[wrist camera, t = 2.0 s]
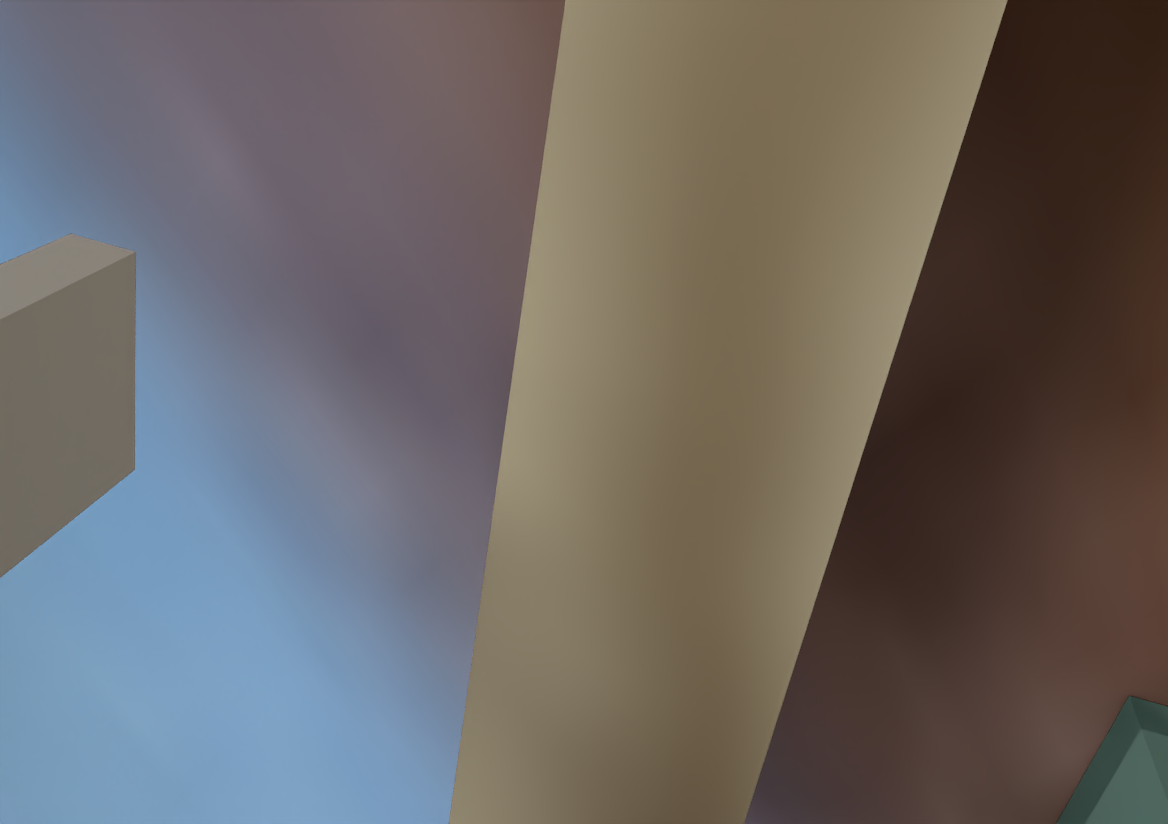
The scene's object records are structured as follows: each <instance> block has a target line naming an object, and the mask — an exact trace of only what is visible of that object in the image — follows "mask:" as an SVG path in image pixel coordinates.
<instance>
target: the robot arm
mask: <svg viewBox="0 0 1168 824" xmlns="http://www.w3.org/2000/svg"><path fill="white" fill-rule="evenodd" d="M135 304H136V252H134V251H131V250H127V249H124V248H120V247H116V246H113V245H109V244H106V243H102V242H98V241H95V240H91V239H88V238H84V237H80V236H77V235H73V234H69V235H67V236H64V237H62V238H60V239H58V240H55V241H53V242H51V243H48V244H46V245H44V246H41V247H39V248H37V249H35V250H32V251H30V252H28V253H25V254H23V255H21V256H18V257H16V258H14V259H12V260H9V261H7V262H5V263H2V264H0V578H1V577H2V576H3V575H4V574H6V573H7V572H8V571H9V570H11V569H12V568H13V567H14V566H16V565H17V564H18V563H19V562H21V561H22V560H23V559H24V558H25V557H27V556H28V555H29V554H30V553H32V552H33V551H34V550H35V549H37V548H38V547H39V546H40V545H42V544H43V543H44V542H45V541H47V540H48V539H49V538H50V537H52V536H53V535H54V534H55V533H57V532H58V531H59V530H60V529H62V528H63V527H64V526H65V525H67V524H68V523H69V522H70V521H72V520H73V519H74V518H75V517H77V516H78V515H79V514H80V513H82V512H83V511H84V510H85V509H86V508H88V507H89V506H90V505H91V504H93V503H94V502H95V501H96V500H98V499H99V498H100V497H101V496H103V495H104V494H105V493H106V492H108V491H109V490H110V489H111V488H113V487H114V486H115V485H116V484H118V483H119V482H120V481H121V480H123V479H124V478H125V477H126V476H128V475H129V474H130V473H131V472H133V471H134V470H135Z"/></svg>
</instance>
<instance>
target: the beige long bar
mask: <svg viewBox="0 0 1168 824" xmlns="http://www.w3.org/2000/svg"><path fill="white" fill-rule="evenodd" d="M1006 3H1007V0H566V2H565V9H564V16H563V23H562V30H561V37H560V44H559V51H558V58H557V65H556V72H555V79H554V86H553V93H552V100H551V107H550V114H549V121H548V128H547V135H546V142H545V150H544V157H543V164H542V171H541V178H540V185H539V192H538V199H537V206H536V213H535V220H534V227H533V234H532V241H531V248H530V255H529V262H528V269H527V276H526V283H525V290H524V297H523V305H522V312H521V319H520V326H519V333H518V340H517V347H516V354H515V361H514V368H513V375H512V382H511V389H510V396H509V403H508V410H507V417H506V424H505V431H504V438H503V445H502V452H501V460H500V467H499V474H498V481H497V488H496V495H495V502H494V509H493V516H492V523H491V530H490V537H489V544H488V551H487V558H486V565H485V572H484V579H483V586H482V593H481V600H480V607H479V615H478V622H477V629H476V636H475V643H474V650H473V657H472V664H471V671H470V678H469V685H468V692H467V699H466V706H465V713H464V720H463V727H462V734H461V741H460V748H459V755H458V762H457V770H456V777H455V784H454V791H453V798H452V805H451V812H450V819H449V824H744V822H745V819H746V816H747V813H748V810H749V807H750V803H751V800H752V797H753V794H754V791H755V788H756V785H757V782H758V778H759V775H760V772H761V769H762V766H763V763H764V760H765V757H766V753H767V750H768V747H769V744H770V741H771V738H772V735H773V732H774V728H775V725H776V722H777V719H778V716H779V713H780V710H781V707H782V703H783V700H784V697H785V694H786V691H787V688H788V685H789V682H790V678H791V675H792V672H793V669H794V666H795V663H796V660H797V657H798V653H799V650H800V647H801V644H802V641H803V638H804V635H805V632H806V628H807V625H808V622H809V619H810V616H811V613H812V610H813V607H814V603H815V600H816V597H817V594H818V591H819V588H820V585H821V582H822V578H823V575H824V572H825V569H826V566H827V563H828V560H829V557H830V553H831V550H832V547H833V544H834V541H835V538H836V535H837V532H838V528H839V525H840V522H841V519H842V516H843V513H844V510H845V507H846V503H847V500H848V497H849V494H850V491H851V488H852V485H853V482H854V478H855V475H856V472H857V469H858V466H859V463H860V460H861V457H862V453H863V450H864V447H865V444H866V441H867V438H868V435H869V432H870V428H871V425H872V422H873V419H874V416H875V413H876V410H877V407H878V403H879V400H880V397H881V394H882V391H883V388H884V385H885V382H886V378H887V375H888V372H889V369H890V366H891V363H892V360H893V356H894V353H895V350H896V347H897V344H898V341H899V338H900V335H901V331H902V328H903V325H904V322H905V319H906V316H907V313H908V310H909V306H910V303H911V300H912V297H913V294H914V291H915V288H916V285H917V281H918V278H919V275H920V272H921V269H922V266H923V263H924V260H925V256H926V253H927V250H928V247H929V244H930V241H931V238H932V235H933V231H934V228H935V225H936V222H937V219H938V216H939V213H940V210H941V206H942V203H943V200H944V197H945V194H946V191H947V188H948V185H949V181H950V178H951V175H952V172H953V169H954V166H955V163H956V160H957V156H958V153H959V150H960V147H961V144H962V141H963V138H964V135H965V131H966V128H967V125H968V122H969V119H970V116H971V113H972V110H973V106H974V103H975V100H976V97H977V94H978V91H979V88H980V85H981V81H982V78H983V75H984V72H985V69H986V66H987V63H988V60H989V56H990V53H991V50H992V47H993V44H994V41H995V38H996V35H997V31H998V28H999V25H1000V22H1001V19H1002V16H1003V13H1004V10H1005V6H1006Z"/></svg>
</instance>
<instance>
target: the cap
mask: <svg viewBox="0 0 1168 824" xmlns="http://www.w3.org/2000/svg"><path fill="white" fill-rule="evenodd" d="M1056 824H1168V707H1167V706H1164V705H1160V704H1157V703H1153V702H1150V701H1146V700H1142V699H1139V698H1135V697H1132V696H1129V697H1128V698H1127V700H1126V702H1125V704H1124V705H1123V707H1122V709H1121V711H1120V712H1119V714H1118V716H1117V718H1116V719H1115V721H1114V723H1113V725H1112V727H1111V728H1110V730H1109V732H1108V734H1107V735H1106V737H1105V739H1104V741H1103V742H1102V744H1101V746H1100V748H1099V749H1098V751H1097V753H1096V755H1095V756H1094V758H1093V760H1092V762H1091V763H1090V765H1089V767H1088V769H1087V770H1086V772H1085V774H1084V776H1083V777H1082V779H1081V781H1080V783H1079V784H1078V786H1077V788H1076V790H1075V792H1074V793H1073V795H1072V797H1071V799H1070V800H1069V802H1068V804H1067V806H1066V807H1065V809H1064V811H1063V813H1062V814H1061V816H1060V818H1059V820H1058V821H1057V823H1056Z"/></svg>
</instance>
